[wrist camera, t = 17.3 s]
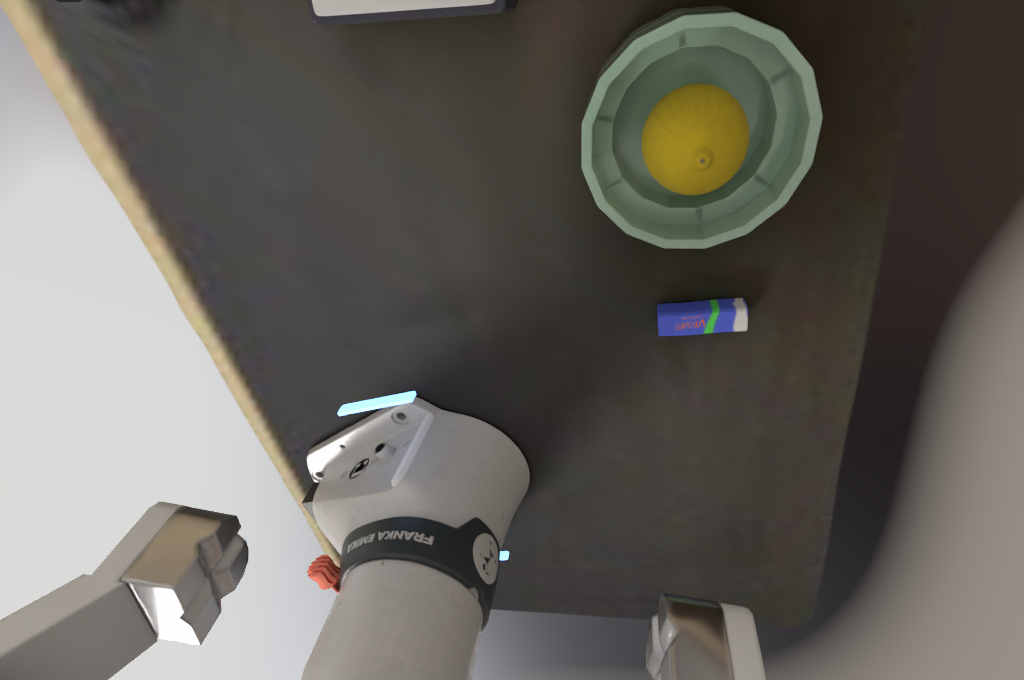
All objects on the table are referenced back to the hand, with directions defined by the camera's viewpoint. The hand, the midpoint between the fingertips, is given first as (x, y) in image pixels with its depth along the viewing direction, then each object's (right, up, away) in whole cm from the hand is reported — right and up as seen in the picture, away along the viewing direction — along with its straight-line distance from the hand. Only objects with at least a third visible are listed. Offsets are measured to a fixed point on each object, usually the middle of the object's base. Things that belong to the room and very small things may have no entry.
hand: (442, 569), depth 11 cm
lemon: (+12, +18, +23) cm, 32 cm away
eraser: (+15, +7, +31) cm, 35 cm away
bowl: (+12, +18, +24) cm, 32 cm away
